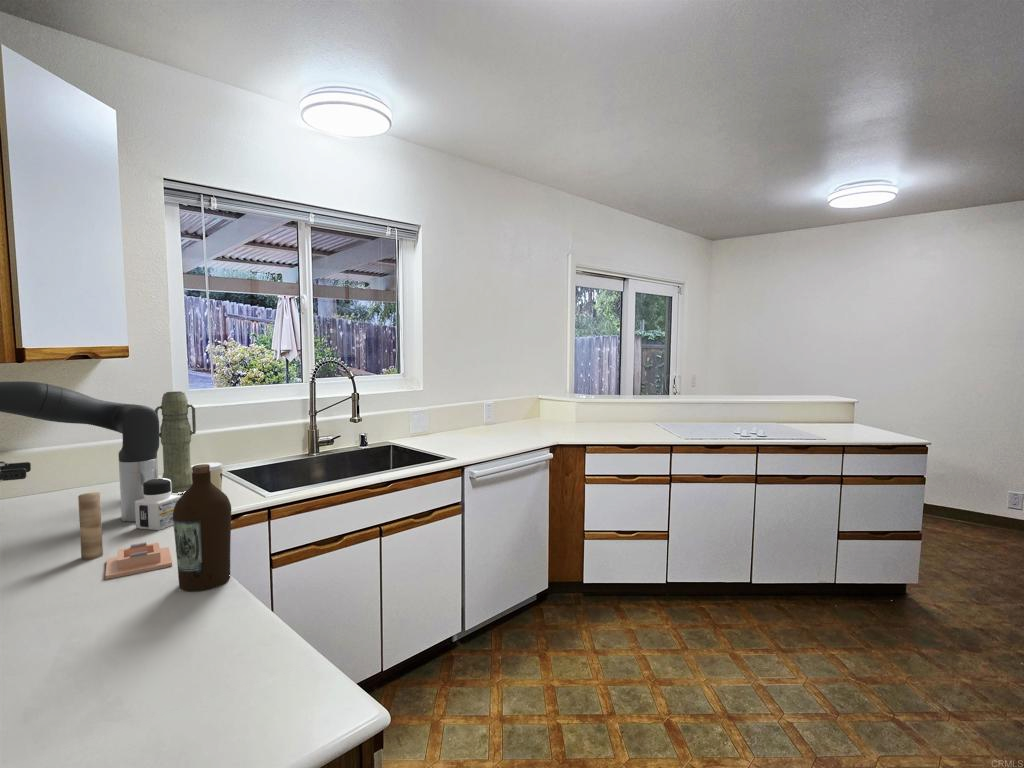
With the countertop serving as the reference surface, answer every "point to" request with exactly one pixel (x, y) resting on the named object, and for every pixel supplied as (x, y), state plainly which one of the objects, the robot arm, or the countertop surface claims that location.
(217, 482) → the coffee cup
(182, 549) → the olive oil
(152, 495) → the container
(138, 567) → the clip base
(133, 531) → the countertop surface
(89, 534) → the tall wooden cylinder
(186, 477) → the thermos
